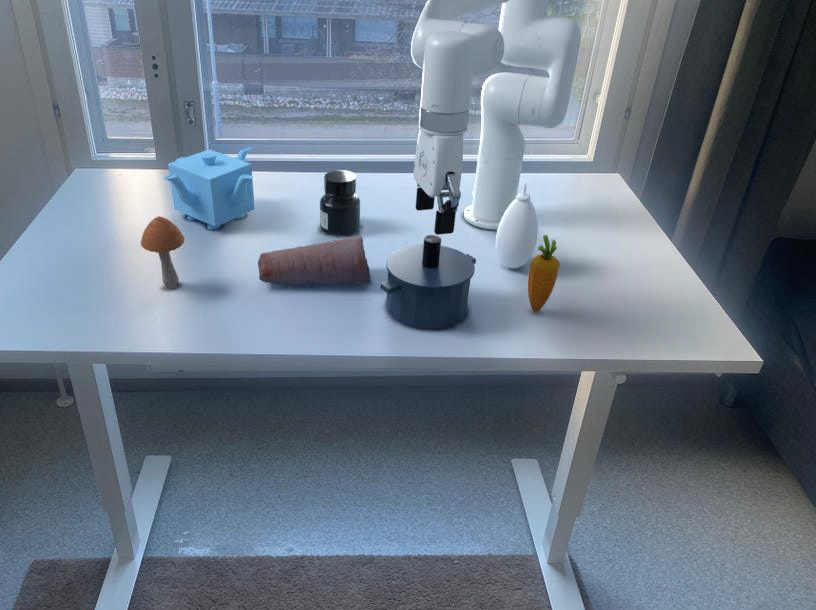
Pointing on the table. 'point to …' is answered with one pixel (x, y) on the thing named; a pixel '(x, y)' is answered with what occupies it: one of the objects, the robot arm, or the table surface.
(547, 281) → the carrot
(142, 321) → the table surface
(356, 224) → the ink bottle
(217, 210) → the teakettle
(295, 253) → the food
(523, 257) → the white egg-shaped bulb
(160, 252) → the mushroom
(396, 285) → the saucepan
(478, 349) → the table surface
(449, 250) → the saucepan lid
